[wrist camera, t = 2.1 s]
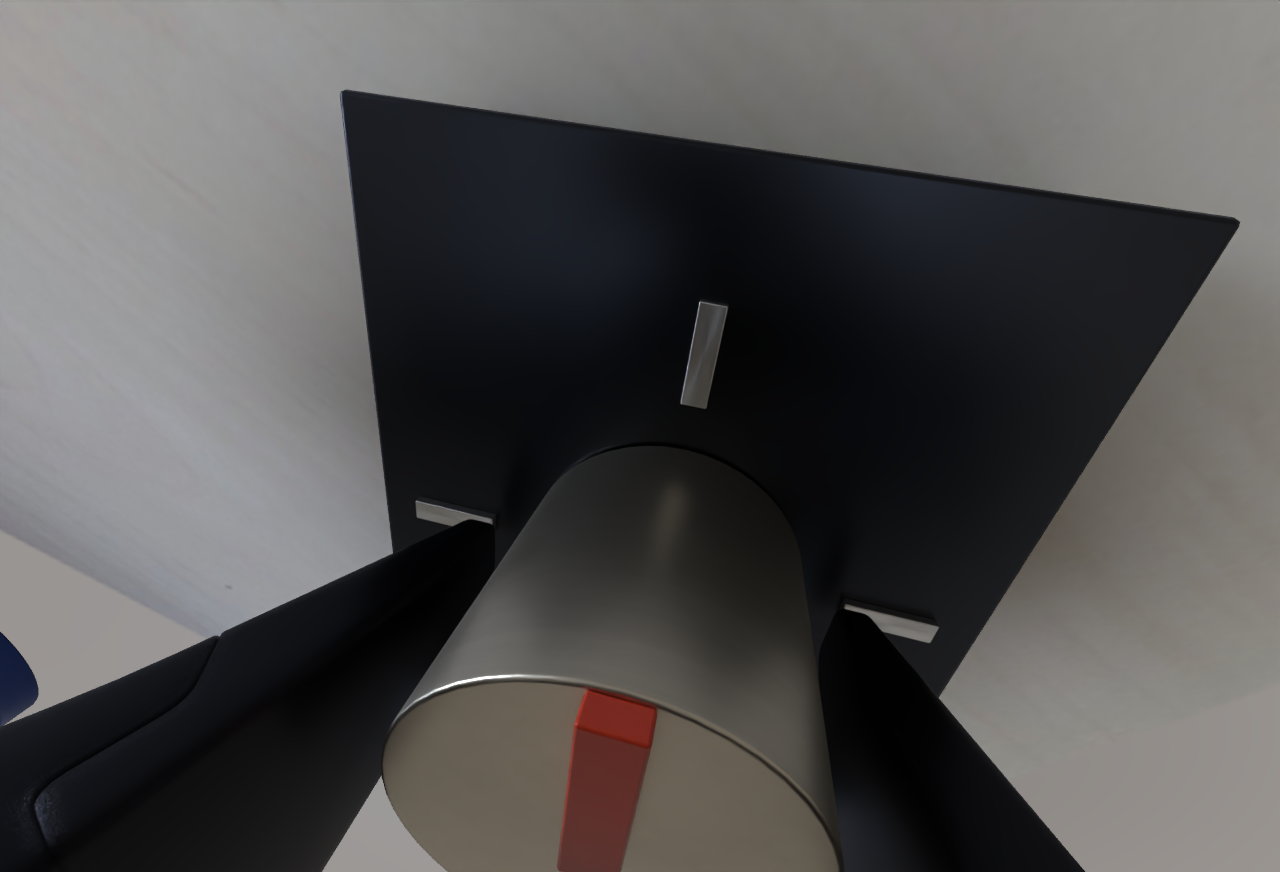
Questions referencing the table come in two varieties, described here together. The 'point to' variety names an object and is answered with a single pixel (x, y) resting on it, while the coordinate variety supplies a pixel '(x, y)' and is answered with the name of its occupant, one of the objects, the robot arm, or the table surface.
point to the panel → (755, 341)
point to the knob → (627, 689)
